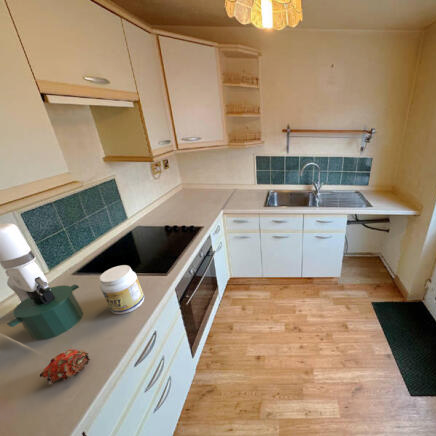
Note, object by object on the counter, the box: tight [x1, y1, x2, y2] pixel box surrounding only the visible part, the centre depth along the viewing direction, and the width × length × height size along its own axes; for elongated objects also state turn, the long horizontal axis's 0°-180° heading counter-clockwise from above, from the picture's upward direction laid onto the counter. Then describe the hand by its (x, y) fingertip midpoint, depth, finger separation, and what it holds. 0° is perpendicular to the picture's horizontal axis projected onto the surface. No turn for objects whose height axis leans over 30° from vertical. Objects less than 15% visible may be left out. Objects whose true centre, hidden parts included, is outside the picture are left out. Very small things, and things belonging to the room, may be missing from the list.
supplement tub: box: [99, 264, 145, 315], centre depth 94 cm, size 12×12×17 cm
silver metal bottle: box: [4, 270, 29, 303], centre depth 93 cm, size 6×7×20 cm
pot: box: [6, 283, 84, 341], centre depth 87 cm, size 15×20×12 cm
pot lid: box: [12, 285, 74, 318], centre depth 83 cm, size 16×16×7 cm
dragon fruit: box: [39, 349, 91, 386], centre depth 71 cm, size 8×8×12 cm
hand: (43, 298), depth 84 cm, fingers open, 6 cm apart
